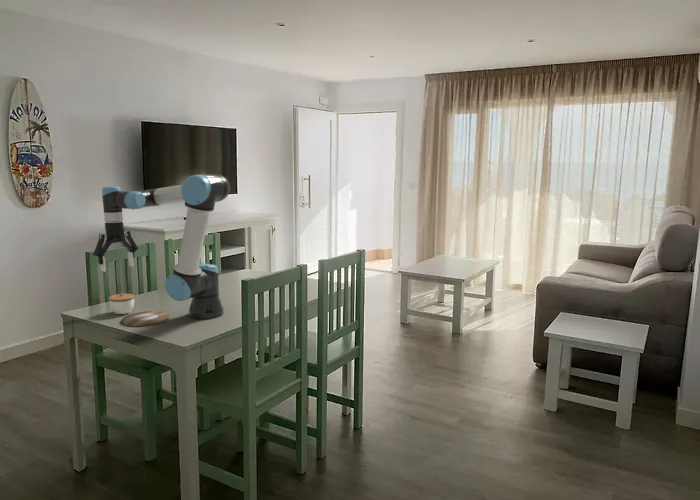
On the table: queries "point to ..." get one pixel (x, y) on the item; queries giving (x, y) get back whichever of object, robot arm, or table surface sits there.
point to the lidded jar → (121, 303)
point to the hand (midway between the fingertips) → (117, 268)
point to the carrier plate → (146, 318)
